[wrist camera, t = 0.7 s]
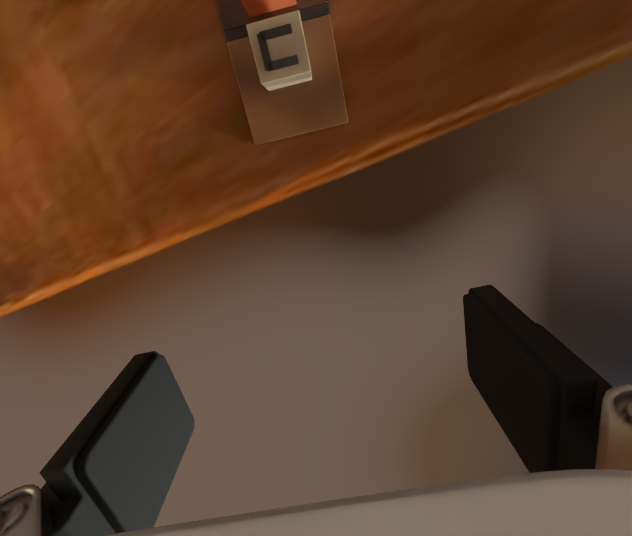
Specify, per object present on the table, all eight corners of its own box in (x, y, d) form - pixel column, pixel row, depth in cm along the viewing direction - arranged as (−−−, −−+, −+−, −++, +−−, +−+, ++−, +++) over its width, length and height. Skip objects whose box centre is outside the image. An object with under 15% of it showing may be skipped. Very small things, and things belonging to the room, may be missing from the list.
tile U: (255, 39, 29) (245, 23, 24) (301, 27, 28) (298, 8, 24) (268, 91, 30) (260, 84, 26) (312, 80, 30) (311, 71, 26)
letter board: (181, -126, 25) (178, -132, 25) (297, -164, 25) (297, -171, 24) (255, 145, 32) (254, 145, 32) (348, 122, 32) (348, 122, 31)
